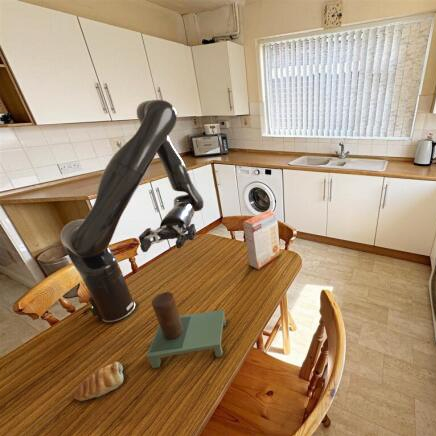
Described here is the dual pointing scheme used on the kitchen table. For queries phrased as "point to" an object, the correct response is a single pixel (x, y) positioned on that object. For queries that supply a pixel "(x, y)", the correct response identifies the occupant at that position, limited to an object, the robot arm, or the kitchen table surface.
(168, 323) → the pepper mill
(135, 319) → the kitchen table surface
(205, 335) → the stand
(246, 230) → the cracker box
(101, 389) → the pastry
